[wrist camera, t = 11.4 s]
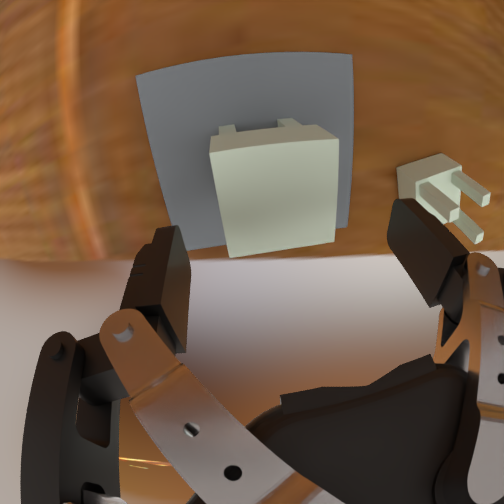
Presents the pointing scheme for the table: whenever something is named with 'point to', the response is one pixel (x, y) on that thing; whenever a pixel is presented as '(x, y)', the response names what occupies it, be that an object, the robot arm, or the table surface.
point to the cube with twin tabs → (276, 186)
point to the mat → (239, 123)
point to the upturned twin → (442, 191)
